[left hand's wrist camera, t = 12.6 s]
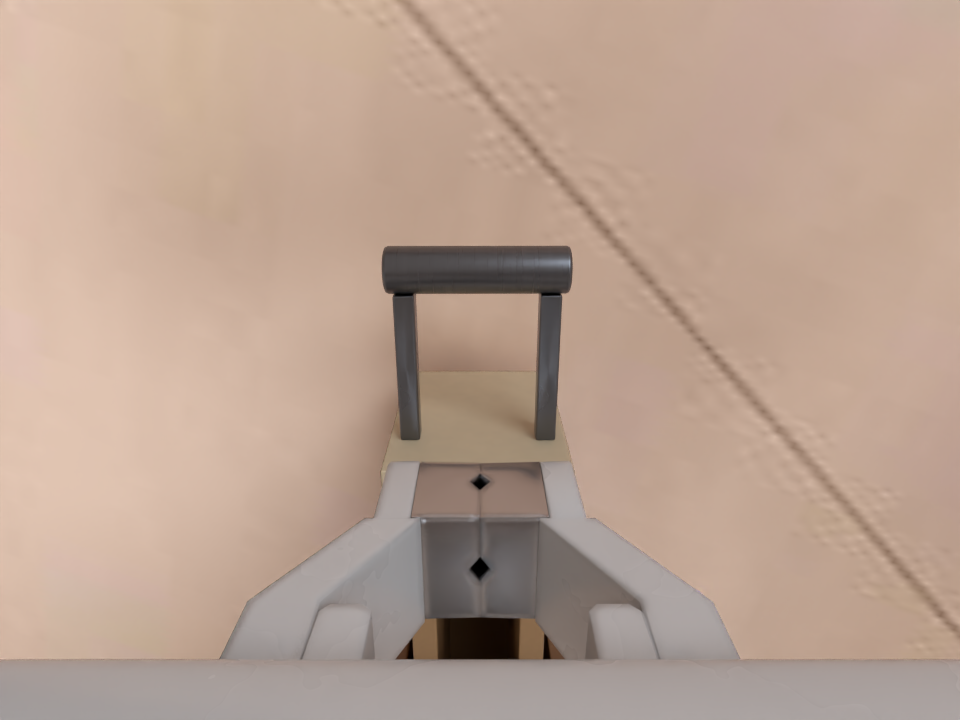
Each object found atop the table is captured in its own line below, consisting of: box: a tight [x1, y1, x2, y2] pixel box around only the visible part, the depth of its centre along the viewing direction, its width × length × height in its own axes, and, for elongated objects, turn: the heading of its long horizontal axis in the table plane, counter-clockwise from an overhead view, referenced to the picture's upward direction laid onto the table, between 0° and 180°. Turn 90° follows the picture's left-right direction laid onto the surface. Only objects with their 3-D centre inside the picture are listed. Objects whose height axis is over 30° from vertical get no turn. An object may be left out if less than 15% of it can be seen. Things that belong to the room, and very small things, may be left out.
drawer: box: [380, 246, 575, 659], centre depth 22 cm, size 22×5×7 cm, turn 0°
